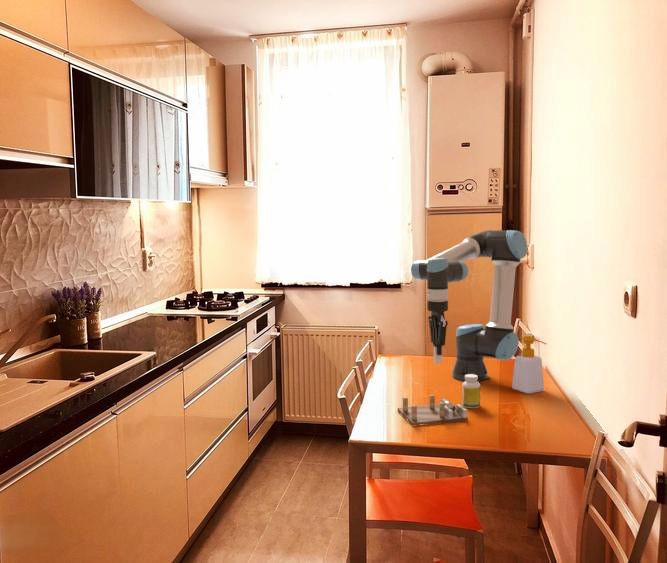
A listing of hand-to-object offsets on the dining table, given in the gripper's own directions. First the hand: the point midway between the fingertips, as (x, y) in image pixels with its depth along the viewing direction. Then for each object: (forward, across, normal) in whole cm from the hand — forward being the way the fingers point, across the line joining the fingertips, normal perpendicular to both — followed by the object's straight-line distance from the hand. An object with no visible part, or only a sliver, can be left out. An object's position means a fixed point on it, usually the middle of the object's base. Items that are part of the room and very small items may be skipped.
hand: (437, 362), depth 213 cm
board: (+16, +10, -6) cm, 20 cm away
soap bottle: (+17, -6, +42) cm, 46 cm away
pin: (+15, +9, 0) cm, 17 cm away
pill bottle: (+17, +4, +12) cm, 21 cm away
